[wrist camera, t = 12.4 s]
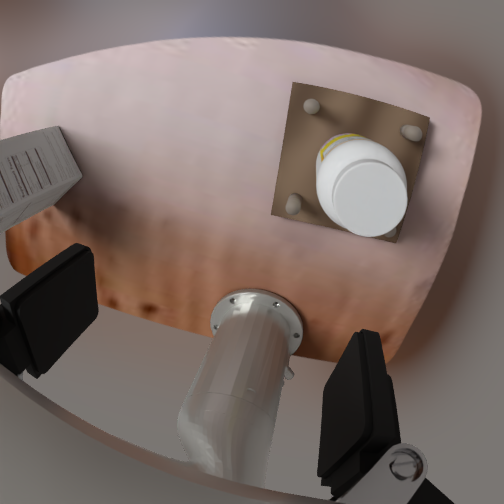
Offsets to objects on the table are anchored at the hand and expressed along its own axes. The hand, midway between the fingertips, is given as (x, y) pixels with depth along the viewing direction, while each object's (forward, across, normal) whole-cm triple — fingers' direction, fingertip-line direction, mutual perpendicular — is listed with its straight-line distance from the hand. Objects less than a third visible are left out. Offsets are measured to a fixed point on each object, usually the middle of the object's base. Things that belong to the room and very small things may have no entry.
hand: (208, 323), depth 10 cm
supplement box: (+25, +33, +5) cm, 42 cm away
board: (+24, -6, -4) cm, 26 cm away
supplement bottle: (+23, -6, -3) cm, 24 cm away
